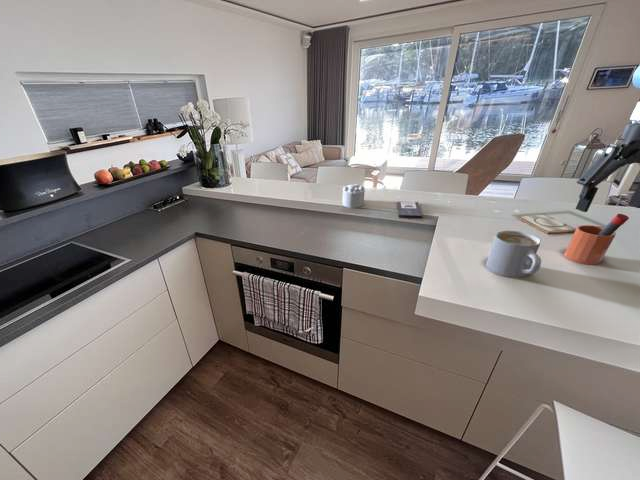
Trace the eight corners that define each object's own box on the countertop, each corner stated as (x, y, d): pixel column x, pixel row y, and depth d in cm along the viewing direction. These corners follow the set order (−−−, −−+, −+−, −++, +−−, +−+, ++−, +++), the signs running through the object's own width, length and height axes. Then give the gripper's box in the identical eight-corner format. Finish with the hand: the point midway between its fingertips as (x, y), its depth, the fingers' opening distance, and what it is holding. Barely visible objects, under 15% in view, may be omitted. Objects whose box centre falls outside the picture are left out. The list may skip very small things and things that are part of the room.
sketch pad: (568, 213, 113) (569, 211, 112) (607, 230, 99) (608, 227, 98) (515, 217, 114) (516, 215, 113) (547, 234, 100) (548, 232, 100)
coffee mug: (479, 260, 89) (489, 231, 84) (515, 260, 87) (526, 230, 82) (503, 284, 78) (515, 252, 73) (544, 284, 76) (559, 251, 71)
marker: (584, 252, 86) (623, 213, 76) (590, 257, 84) (631, 219, 74) (576, 252, 86) (614, 213, 76) (582, 257, 84) (622, 219, 74)
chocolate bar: (399, 215, 123) (397, 201, 138) (398, 217, 124) (397, 203, 138) (421, 215, 120) (417, 201, 135) (421, 217, 121) (417, 203, 136)
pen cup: (583, 251, 89) (597, 224, 84) (608, 263, 82) (624, 235, 77) (557, 252, 89) (569, 226, 85) (579, 265, 82) (594, 237, 78)
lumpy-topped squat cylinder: (363, 199, 148) (364, 182, 144) (364, 207, 137) (365, 190, 133) (342, 199, 150) (343, 183, 146) (342, 208, 140) (342, 190, 135)
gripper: (689, 115, 69) (641, 200, 80) (581, 125, 71) (548, 207, 82) (731, 117, 63) (673, 209, 74) (611, 128, 64) (571, 216, 75)
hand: (607, 208), depth 78 cm, fingers open, 13 cm apart
